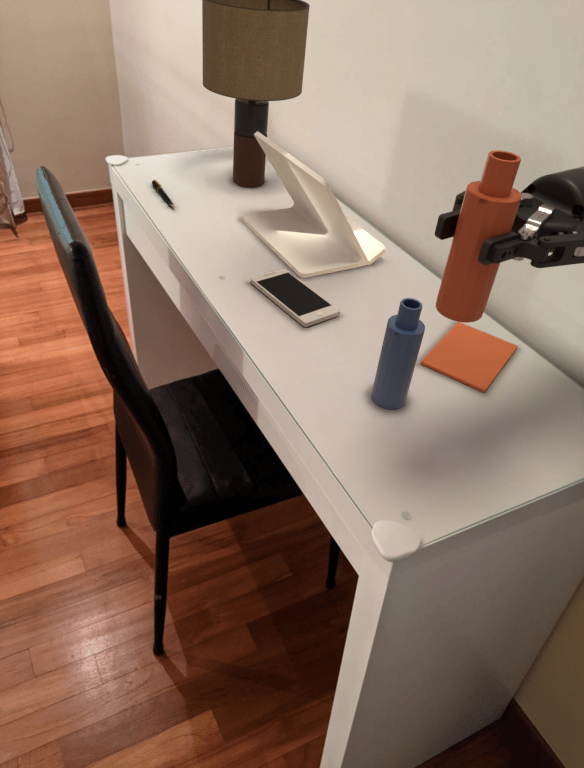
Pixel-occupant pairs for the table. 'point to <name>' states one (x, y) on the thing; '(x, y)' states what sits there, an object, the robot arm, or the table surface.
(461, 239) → the terracotta bottle
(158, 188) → the fountain pen
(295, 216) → the tablet stand
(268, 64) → the lamp
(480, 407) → the table surface
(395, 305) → the table surface
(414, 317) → the blue bottle
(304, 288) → the smartphone
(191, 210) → the table surface
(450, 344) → the terracotta mat
